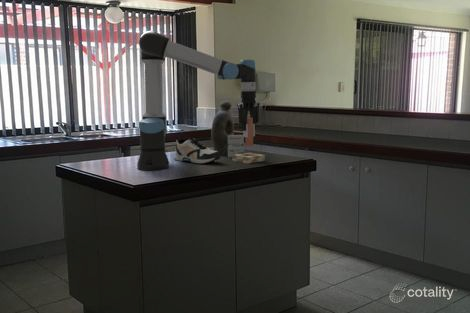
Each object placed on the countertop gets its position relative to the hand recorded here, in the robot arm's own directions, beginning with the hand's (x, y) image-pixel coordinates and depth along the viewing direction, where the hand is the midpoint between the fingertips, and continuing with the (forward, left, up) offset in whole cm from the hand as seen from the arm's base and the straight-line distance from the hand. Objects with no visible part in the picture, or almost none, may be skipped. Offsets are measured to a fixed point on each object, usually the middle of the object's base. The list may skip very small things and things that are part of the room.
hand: (249, 136), depth 246 cm
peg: (0, 0, -5) cm, 5 cm away
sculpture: (+6, +29, -13) cm, 32 cm away
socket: (0, 0, -13) cm, 13 cm away
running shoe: (-22, +17, -13) cm, 31 cm away
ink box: (+4, +15, -13) cm, 20 cm away
